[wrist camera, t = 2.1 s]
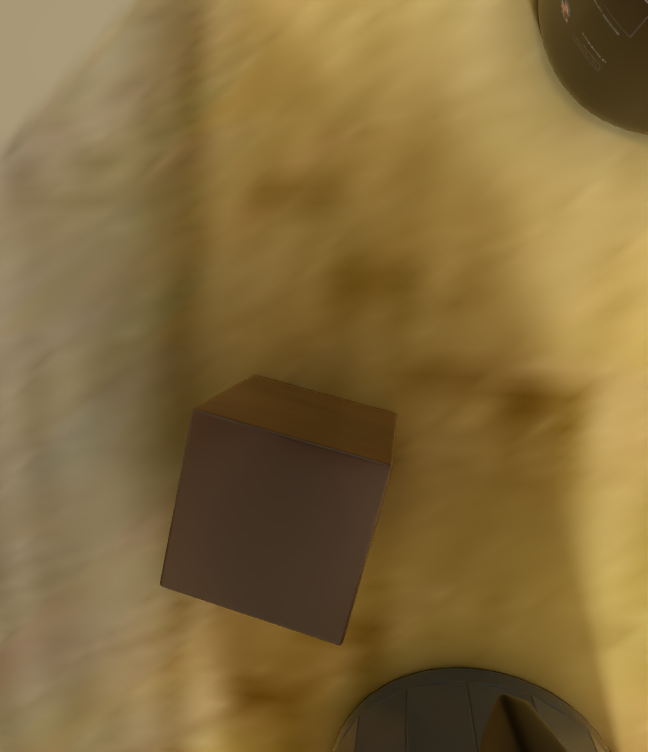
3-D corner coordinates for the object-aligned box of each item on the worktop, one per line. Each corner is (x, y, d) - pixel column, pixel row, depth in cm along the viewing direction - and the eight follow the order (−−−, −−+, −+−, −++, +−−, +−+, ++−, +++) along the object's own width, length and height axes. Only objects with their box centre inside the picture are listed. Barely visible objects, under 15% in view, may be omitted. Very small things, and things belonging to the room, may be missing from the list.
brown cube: (226, 506, 16) (157, 586, 11) (253, 373, 15) (191, 408, 11) (360, 547, 15) (341, 647, 11) (396, 413, 14) (393, 465, 10)
